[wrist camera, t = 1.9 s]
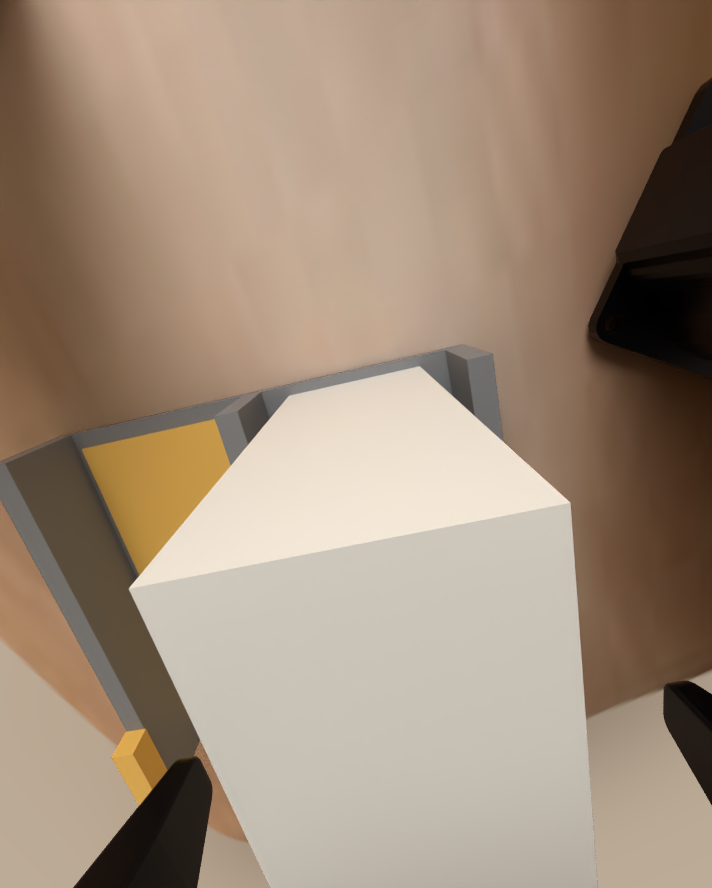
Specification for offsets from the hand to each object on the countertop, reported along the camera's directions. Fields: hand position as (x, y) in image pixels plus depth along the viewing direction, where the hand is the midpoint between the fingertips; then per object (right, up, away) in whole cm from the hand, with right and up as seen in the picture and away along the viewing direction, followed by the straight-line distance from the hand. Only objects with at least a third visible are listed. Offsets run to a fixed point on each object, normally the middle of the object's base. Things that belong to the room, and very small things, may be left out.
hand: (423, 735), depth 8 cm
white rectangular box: (0, +2, +6) cm, 6 cm away
